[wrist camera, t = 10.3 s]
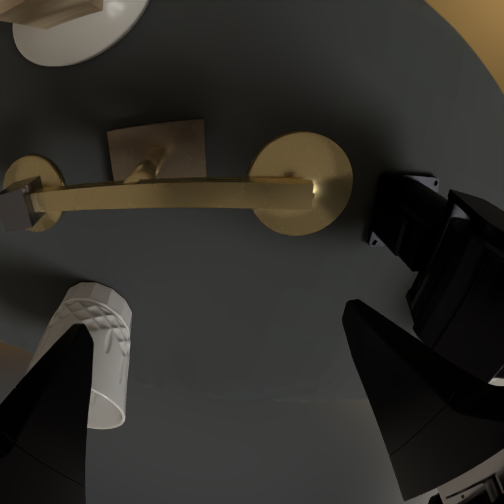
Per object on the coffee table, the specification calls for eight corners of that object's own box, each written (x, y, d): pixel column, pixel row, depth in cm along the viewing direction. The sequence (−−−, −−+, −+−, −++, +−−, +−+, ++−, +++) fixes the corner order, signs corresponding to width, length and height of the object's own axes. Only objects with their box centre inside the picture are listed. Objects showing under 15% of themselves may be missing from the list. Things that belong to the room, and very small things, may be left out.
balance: (298, 113, 17) (373, 142, 9) (295, 176, 19) (356, 245, 12) (37, 144, 15) (-48, 195, 7) (49, 200, 17) (-18, 275, 9)
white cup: (55, 267, 20) (8, 360, 12) (141, 284, 22) (121, 391, 14) (65, 329, 24) (39, 414, 16) (137, 344, 26) (127, 436, 18)
